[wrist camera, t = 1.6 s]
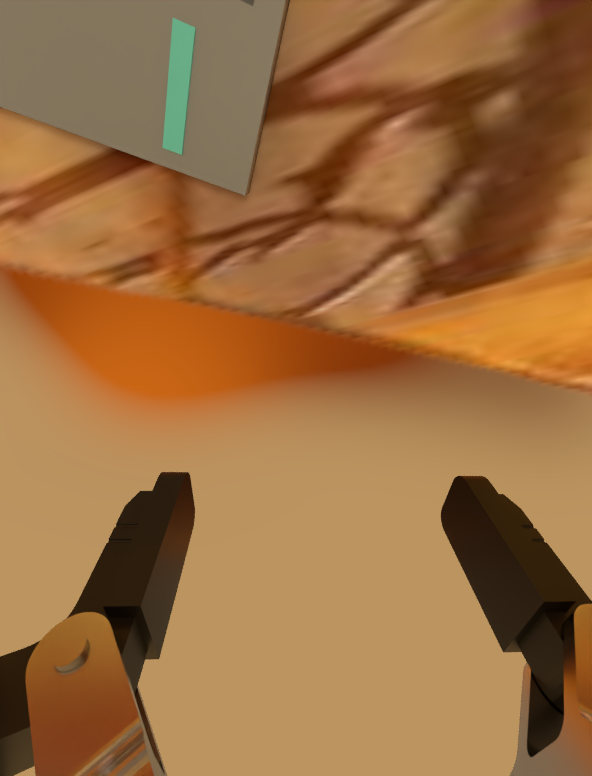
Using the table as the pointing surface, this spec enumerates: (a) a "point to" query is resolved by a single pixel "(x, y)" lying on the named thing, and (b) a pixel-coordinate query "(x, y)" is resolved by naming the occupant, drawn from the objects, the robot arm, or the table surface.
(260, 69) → the panel
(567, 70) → the table surface
